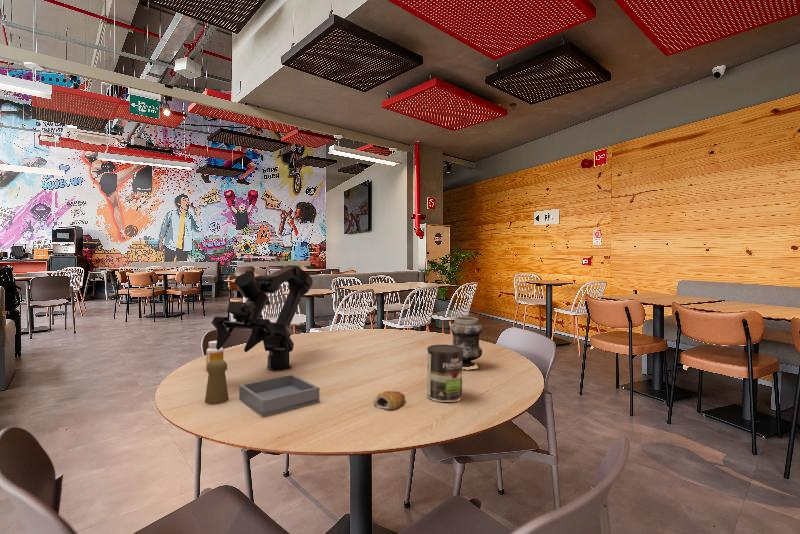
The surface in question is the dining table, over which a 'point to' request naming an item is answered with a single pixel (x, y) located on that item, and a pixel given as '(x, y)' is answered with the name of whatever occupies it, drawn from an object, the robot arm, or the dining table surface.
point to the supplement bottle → (213, 352)
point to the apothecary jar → (467, 338)
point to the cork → (216, 383)
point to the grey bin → (278, 394)
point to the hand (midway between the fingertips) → (231, 350)
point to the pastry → (389, 400)
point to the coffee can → (444, 373)
